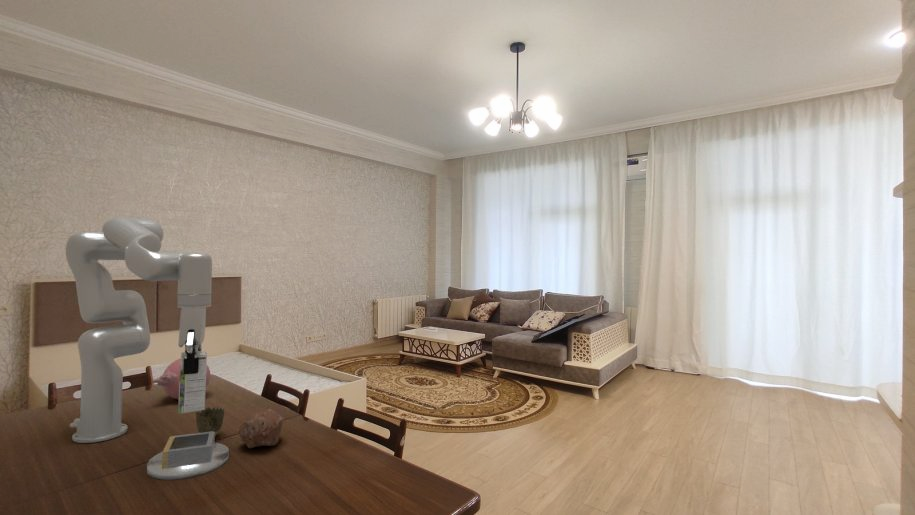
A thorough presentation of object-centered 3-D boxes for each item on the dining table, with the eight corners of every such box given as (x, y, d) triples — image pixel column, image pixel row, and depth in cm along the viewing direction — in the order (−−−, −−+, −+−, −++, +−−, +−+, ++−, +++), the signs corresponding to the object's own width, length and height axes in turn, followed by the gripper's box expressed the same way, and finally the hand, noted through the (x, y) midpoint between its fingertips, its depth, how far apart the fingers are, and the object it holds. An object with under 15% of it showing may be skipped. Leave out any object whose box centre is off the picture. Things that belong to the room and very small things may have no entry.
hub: (138, 485, 102) (139, 461, 102) (155, 453, 118) (155, 433, 118) (226, 472, 109) (226, 449, 109) (230, 443, 125) (231, 424, 125)
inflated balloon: (137, 404, 155) (139, 361, 156) (193, 390, 173) (194, 351, 173) (163, 412, 149) (165, 367, 149) (218, 396, 166) (220, 356, 167)
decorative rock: (268, 456, 118) (270, 419, 118) (228, 454, 119) (229, 417, 119) (290, 436, 132) (291, 403, 132) (253, 434, 132) (254, 401, 132)
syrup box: (177, 407, 114) (179, 352, 114) (204, 404, 118) (205, 349, 118) (178, 414, 109) (180, 356, 110) (206, 410, 113) (207, 353, 113)
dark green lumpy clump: (210, 444, 125) (211, 416, 125) (188, 441, 126) (189, 413, 126) (229, 434, 132) (230, 407, 132) (208, 431, 133) (209, 405, 133)
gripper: (182, 298, 120) (181, 364, 120) (171, 304, 104) (169, 380, 104) (214, 298, 123) (212, 362, 123) (207, 303, 107) (205, 377, 107)
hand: (192, 369), depth 114 cm, fingers closed on syrup box, 6 cm apart
